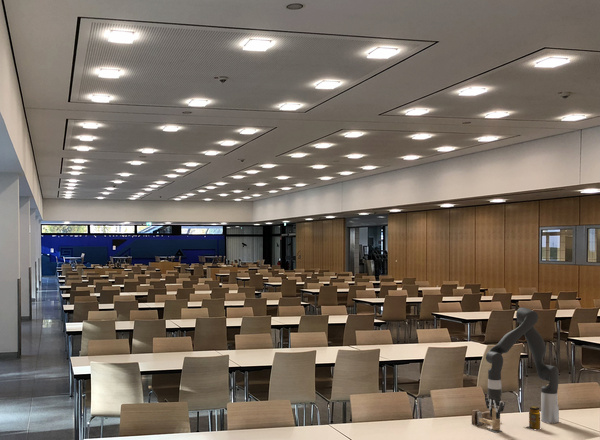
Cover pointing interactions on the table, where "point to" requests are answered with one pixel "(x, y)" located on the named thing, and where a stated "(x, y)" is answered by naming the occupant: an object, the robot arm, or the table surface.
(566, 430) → the table surface
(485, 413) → the walnut rail
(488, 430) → the foot pad
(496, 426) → the wooden frame
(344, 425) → the table surface
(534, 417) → the condiment
